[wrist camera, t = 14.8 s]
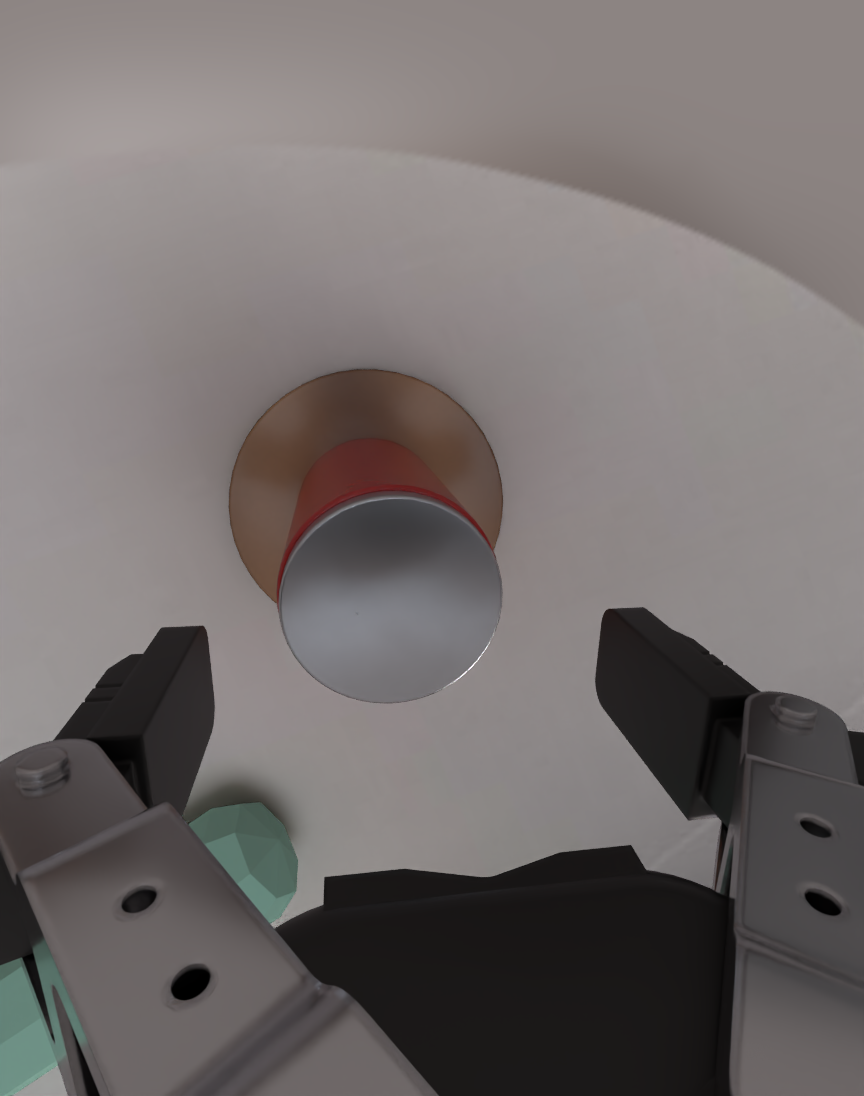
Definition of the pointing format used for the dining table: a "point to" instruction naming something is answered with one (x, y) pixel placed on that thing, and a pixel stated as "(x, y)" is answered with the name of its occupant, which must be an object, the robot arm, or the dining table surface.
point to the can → (385, 577)
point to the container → (249, 858)
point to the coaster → (340, 416)
